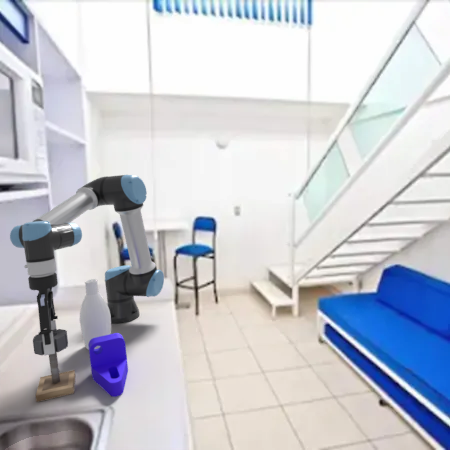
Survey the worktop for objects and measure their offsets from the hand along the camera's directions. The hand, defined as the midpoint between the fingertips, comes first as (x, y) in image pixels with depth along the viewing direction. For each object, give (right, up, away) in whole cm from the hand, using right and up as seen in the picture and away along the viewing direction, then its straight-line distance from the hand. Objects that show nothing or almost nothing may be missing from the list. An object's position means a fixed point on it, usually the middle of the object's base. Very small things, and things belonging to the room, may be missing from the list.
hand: (51, 347), depth 112 cm
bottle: (+4, -9, +30) cm, 32 cm away
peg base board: (+1, -13, +2) cm, 13 cm away
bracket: (+17, -12, +4) cm, 21 cm away
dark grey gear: (0, 0, 0) cm, 0 cm away
